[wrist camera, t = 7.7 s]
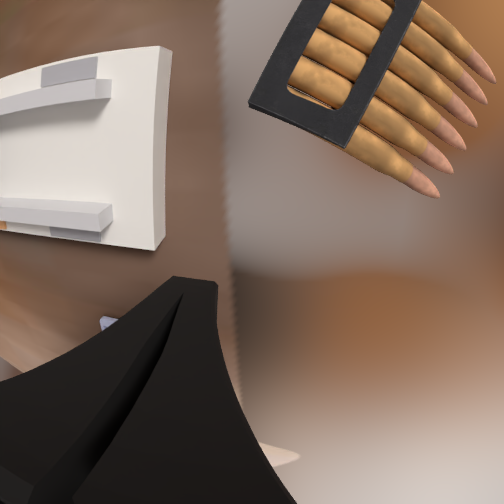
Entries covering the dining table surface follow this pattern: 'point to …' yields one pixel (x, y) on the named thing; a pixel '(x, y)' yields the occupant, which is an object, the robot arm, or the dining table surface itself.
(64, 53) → the dining table surface
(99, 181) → the switch board
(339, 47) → the ammunition clip
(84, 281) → the dining table surface
